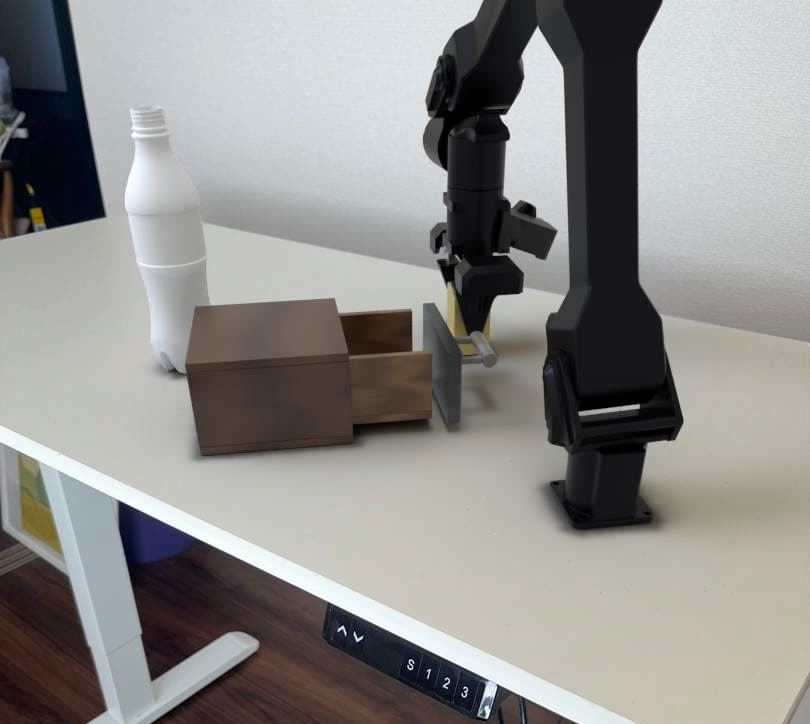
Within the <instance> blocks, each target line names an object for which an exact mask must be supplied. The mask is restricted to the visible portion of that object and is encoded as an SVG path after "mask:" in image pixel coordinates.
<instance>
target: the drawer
mask: <svg viewBox="0 0 810 724" xmlns="http://www.w3.org/2000/svg"><path fill="white" fill-rule="evenodd" d="M338 313H339V317H340V321H341V325H342V329H343V333H344V337H345V341H346V344H347V348H348V352H349V368H350V386H351V405H352V423H353V425H363V424H377V423H386V422H387V423H389V422H401V421H403V422H404V421H415V420H427V419H432V418H433V393H434V396H435V398H436V400H437V402H438V405H439V407H440V409H441V413H442V414H443V416H444V419H445V421H446V423H447V424H459V423H461V411H462V410H461V407H462V405H461V404H462V374H463V373H462V372H463V366H464V365H476V364H477V365H478V364H483V366H484V367H485V368H489V369H490V368H494V367H495V366H496V365H497V363H498V356H497V355H496V354H495V352H494V350H493V349H492V346H490V343H489V344H488V342H487V341H486V339H485V338H484V336H483V335H482V333H481V332H479V331H474V332H472V333H471V334H470V336H466V337H453V335H452V333H451V332H450V330H449V328H448V326H447V322H446V321H445V319H444V317H443V316H442V314H441V312H440V310H439V308H438V307H437V305H436V303H435V302H427V303H426V302H424V303H422V350H413V348H414V347H413V346H414V345H413V342H414V341H413V310H412V308H399V309H398V308H397V309H396V308H395V309H383V310H367V311H350V312H338ZM470 343H471V344H472V346H473V348H474V349H475V351H476V353H477V354H476V355H462V351H461V349H460V348H459V346H458V345H460V344H470Z"/></svg>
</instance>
